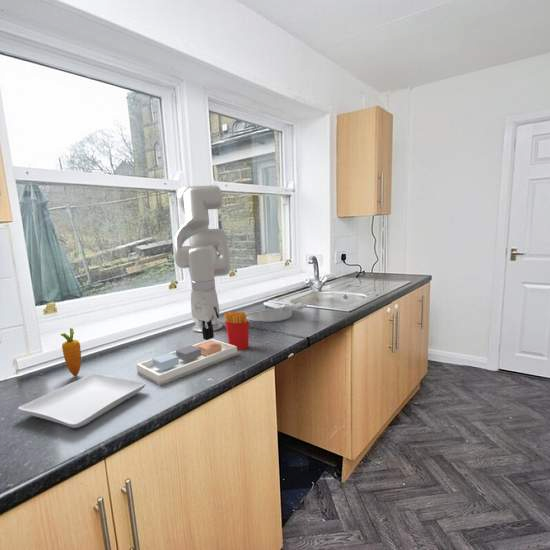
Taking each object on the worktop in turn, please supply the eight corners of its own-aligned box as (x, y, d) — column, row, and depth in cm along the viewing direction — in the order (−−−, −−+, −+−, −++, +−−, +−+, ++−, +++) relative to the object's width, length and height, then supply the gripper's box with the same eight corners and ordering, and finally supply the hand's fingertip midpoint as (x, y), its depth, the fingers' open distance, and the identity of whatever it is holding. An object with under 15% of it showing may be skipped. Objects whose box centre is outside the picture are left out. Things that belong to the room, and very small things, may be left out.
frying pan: (278, 309, 177) (276, 291, 176) (326, 320, 151) (325, 299, 150) (240, 319, 163) (238, 299, 162) (286, 332, 137) (284, 309, 136)
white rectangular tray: (137, 373, 106) (136, 364, 106) (212, 346, 126) (211, 338, 125) (159, 385, 96) (158, 375, 96) (237, 354, 116) (236, 346, 116)
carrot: (71, 381, 104) (64, 332, 102) (63, 378, 106) (55, 331, 104) (88, 374, 108) (81, 328, 106) (79, 372, 110) (72, 326, 108)
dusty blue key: (153, 366, 105) (152, 358, 105) (169, 360, 109) (168, 352, 109) (162, 370, 101) (161, 362, 101) (179, 364, 105) (178, 356, 105)
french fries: (252, 346, 123) (249, 311, 121) (245, 350, 119) (242, 314, 118) (231, 343, 128) (228, 309, 126) (224, 347, 124) (221, 312, 122)
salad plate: (149, 392, 93) (148, 380, 93) (77, 438, 74) (74, 423, 74) (95, 382, 102) (93, 371, 102) (17, 421, 83) (15, 408, 83)
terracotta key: (198, 352, 117) (197, 346, 116) (211, 347, 121) (211, 341, 120) (207, 356, 113) (207, 349, 112) (221, 351, 117) (221, 344, 116)
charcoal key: (176, 357, 111) (175, 350, 110) (191, 352, 115) (191, 345, 114) (186, 361, 107) (185, 354, 107) (201, 356, 111) (200, 348, 111)
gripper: (181, 285, 116) (186, 337, 119) (207, 289, 106) (212, 346, 109) (200, 281, 121) (205, 331, 125) (226, 285, 111) (231, 339, 114)
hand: (208, 338), depth 117 cm, fingers closed
